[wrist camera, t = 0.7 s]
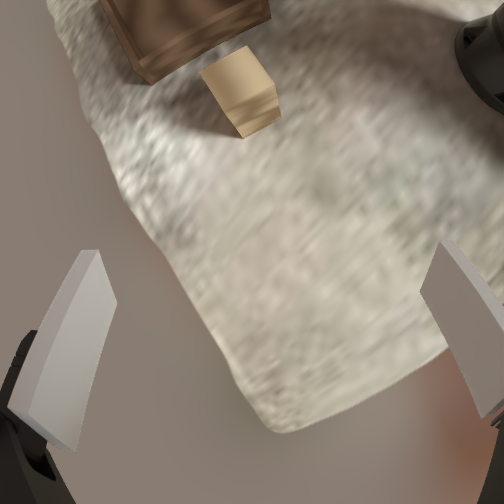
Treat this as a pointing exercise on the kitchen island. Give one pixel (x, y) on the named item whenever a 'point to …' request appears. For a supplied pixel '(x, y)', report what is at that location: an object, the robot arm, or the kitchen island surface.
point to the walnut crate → (178, 29)
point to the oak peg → (243, 91)
